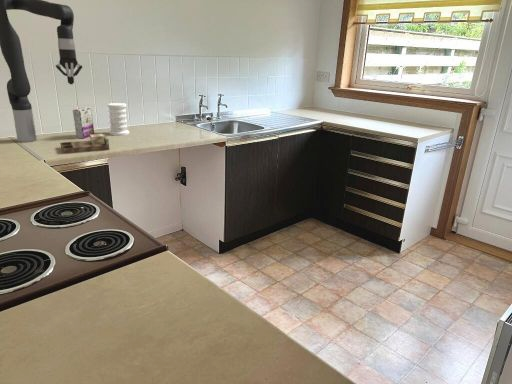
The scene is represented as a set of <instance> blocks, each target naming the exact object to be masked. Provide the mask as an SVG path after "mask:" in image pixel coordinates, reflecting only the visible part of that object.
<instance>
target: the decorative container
mask: <svg viewBox="0 0 512 384" xmlns="http://www.w3.org/2000/svg"><path fill="white" fill-rule="evenodd" d="M107 107H108V112H109V123H110V126H109V127H110V129H111V130H109V135H111V136H127V135H129V134H130V130H128V120H127V118H128V117H127V116H128V115H127V107H128V106H127V103H123V102H113V103H111V102H109V103H107Z"/></svg>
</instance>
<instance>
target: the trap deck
mask: <svg viewBox="0 0 512 384" xmlns="http://www.w3.org/2000/svg"><path fill="white" fill-rule="evenodd" d="M101 134H102V135H103V136H104V142H105V144H94V145H93V144H92V143H91V140H79V141H76V140H75V141H65V142H60V143H59V144H60V148H61V151H62V154H75V153H86V152H87V153H88V152H98V151H99V152H100V151H110V143H109V138H108V137H107V136H106V135H105V134H104V133H101Z"/></svg>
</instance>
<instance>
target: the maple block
mask: <svg viewBox="0 0 512 384" xmlns="http://www.w3.org/2000/svg"><path fill="white" fill-rule="evenodd" d="M102 134H103V133H97V134H95V133H94V135H90V137H89V139H90V140H91V143H92V144H93V145H94V144H105V142H104V136H103V135H102ZM90 140H89V141H90Z"/></svg>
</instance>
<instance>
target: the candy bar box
mask: <svg viewBox="0 0 512 384" xmlns="http://www.w3.org/2000/svg"><path fill="white" fill-rule="evenodd" d="M92 113H93V112H92V107H89V106H88V107H80V108H77V109H72V115H73V121H74V128H75V129H74V130H75V136H76V138H77V139H82V140H83V139H87V138H90V135H94V134H95V128H94V121H93V120H94V119H93V114H92Z"/></svg>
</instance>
